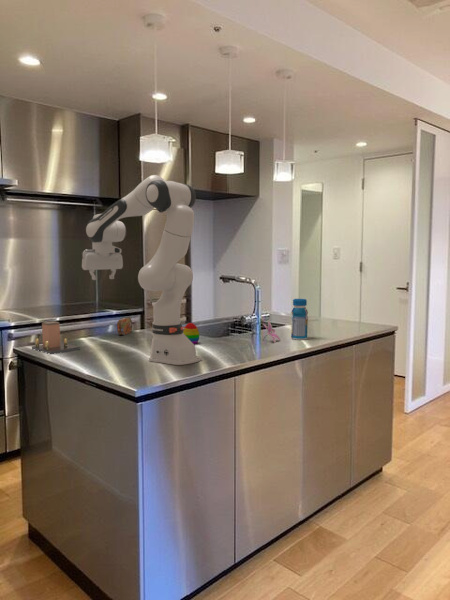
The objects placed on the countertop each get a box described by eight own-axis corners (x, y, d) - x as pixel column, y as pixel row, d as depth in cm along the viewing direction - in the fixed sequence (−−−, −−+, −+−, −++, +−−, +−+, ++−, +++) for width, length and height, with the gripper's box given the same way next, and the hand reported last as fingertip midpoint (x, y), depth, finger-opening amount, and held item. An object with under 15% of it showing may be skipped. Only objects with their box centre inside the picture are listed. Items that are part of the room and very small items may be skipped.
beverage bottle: (296, 340, 238) (297, 300, 236) (287, 337, 245) (288, 298, 243) (311, 339, 241) (311, 299, 239) (301, 336, 249) (302, 298, 247)
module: (60, 346, 219) (59, 322, 218) (49, 348, 215) (48, 323, 214) (54, 344, 223) (53, 321, 221) (42, 346, 218) (41, 322, 217)
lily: (263, 346, 229) (273, 329, 227) (250, 333, 238) (259, 317, 236) (279, 350, 237) (289, 334, 235) (266, 338, 246) (275, 322, 244)
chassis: (79, 349, 218) (79, 339, 217) (50, 354, 207) (50, 343, 207) (60, 344, 229) (60, 334, 229) (32, 349, 219) (31, 338, 218)
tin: (121, 336, 252) (121, 320, 251) (116, 336, 253) (115, 320, 252) (132, 331, 267) (132, 316, 266) (127, 331, 267) (127, 316, 266)
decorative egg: (179, 344, 230) (178, 323, 229) (188, 341, 237) (187, 321, 236) (193, 345, 226) (193, 324, 225) (202, 342, 233) (202, 322, 232)
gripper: (86, 249, 213) (87, 280, 214) (124, 249, 228) (125, 278, 229) (78, 249, 217) (79, 280, 218) (116, 249, 232) (117, 278, 233)
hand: (103, 279), depth 224 cm, fingers open, 8 cm apart
